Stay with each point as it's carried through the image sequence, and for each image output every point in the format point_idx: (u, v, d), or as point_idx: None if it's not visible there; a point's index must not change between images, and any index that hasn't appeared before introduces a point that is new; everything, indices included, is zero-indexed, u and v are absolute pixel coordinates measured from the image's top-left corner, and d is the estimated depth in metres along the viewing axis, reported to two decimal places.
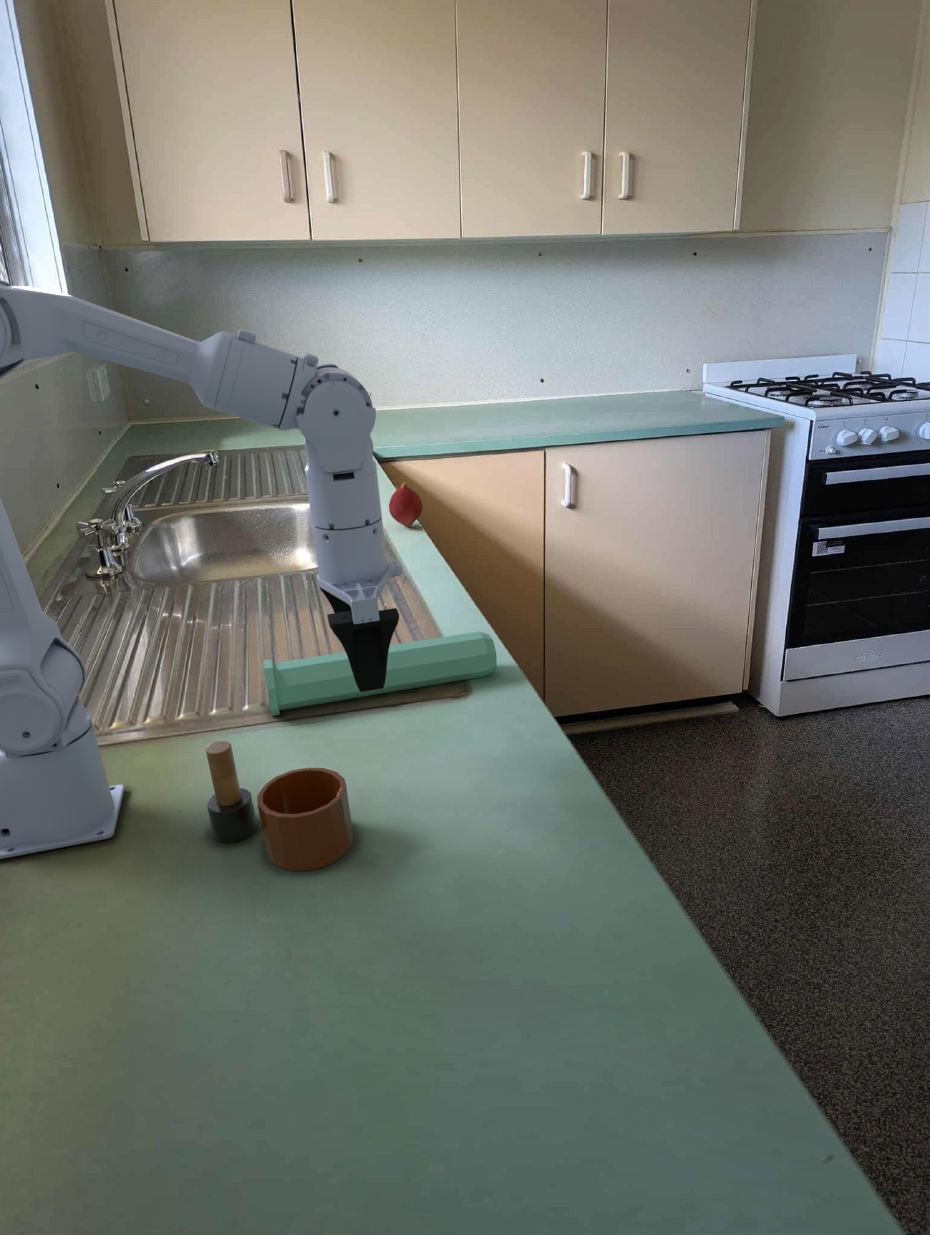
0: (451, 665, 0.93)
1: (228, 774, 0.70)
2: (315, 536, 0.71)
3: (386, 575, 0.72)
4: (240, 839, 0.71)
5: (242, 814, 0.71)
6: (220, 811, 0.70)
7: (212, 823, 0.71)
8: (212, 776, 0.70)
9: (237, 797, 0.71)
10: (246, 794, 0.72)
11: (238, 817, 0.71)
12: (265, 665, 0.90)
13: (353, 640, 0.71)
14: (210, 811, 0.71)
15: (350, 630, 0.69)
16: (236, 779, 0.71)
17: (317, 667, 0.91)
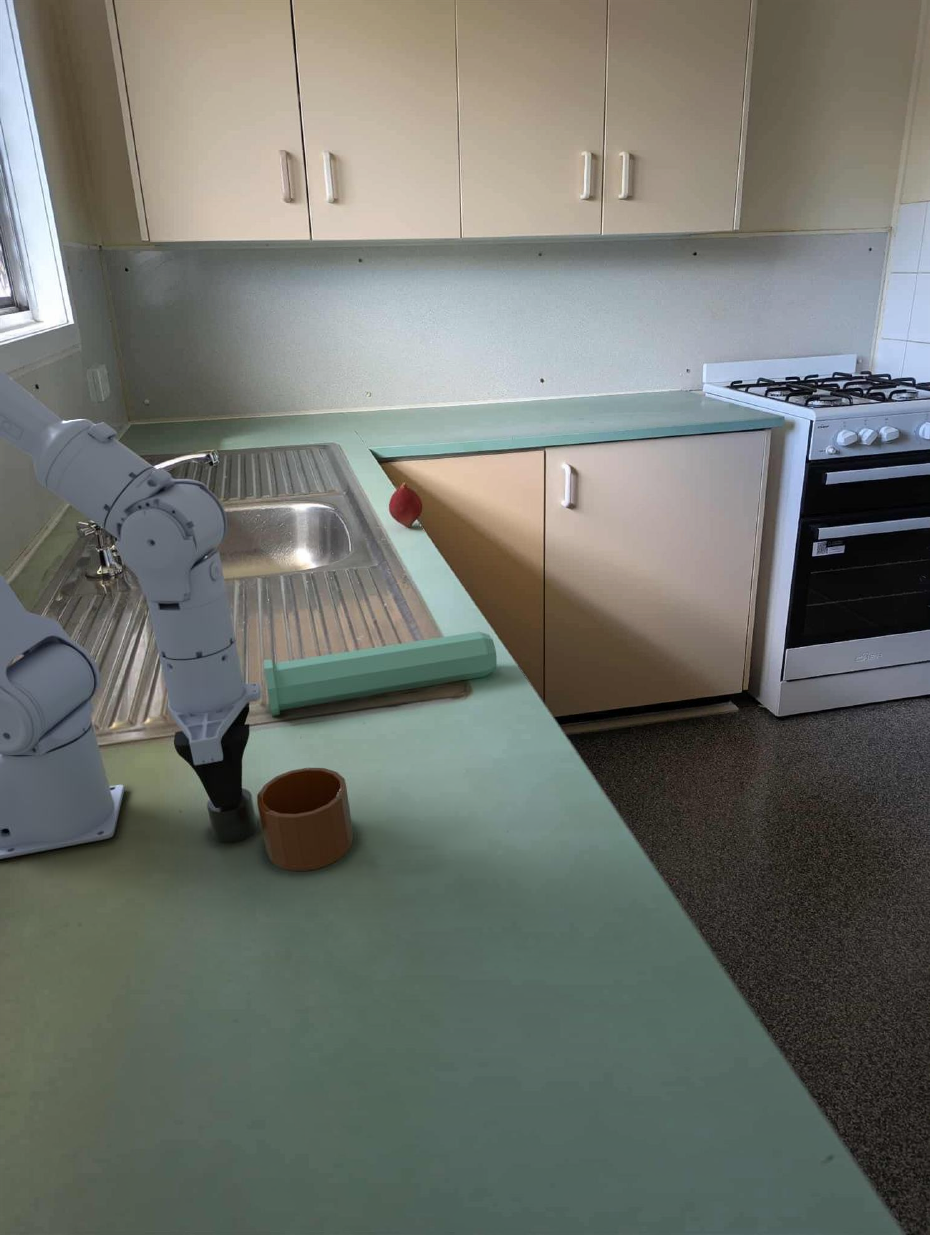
0: (451, 665, 0.93)
1: None
2: (161, 663, 0.66)
3: (240, 703, 0.67)
4: (240, 839, 0.71)
5: (242, 814, 0.71)
6: (220, 811, 0.70)
7: (212, 823, 0.71)
8: None
9: None
10: (246, 794, 0.72)
11: (238, 816, 0.71)
12: (265, 665, 0.90)
13: None
14: (210, 811, 0.71)
15: None
16: None
17: (317, 667, 0.91)
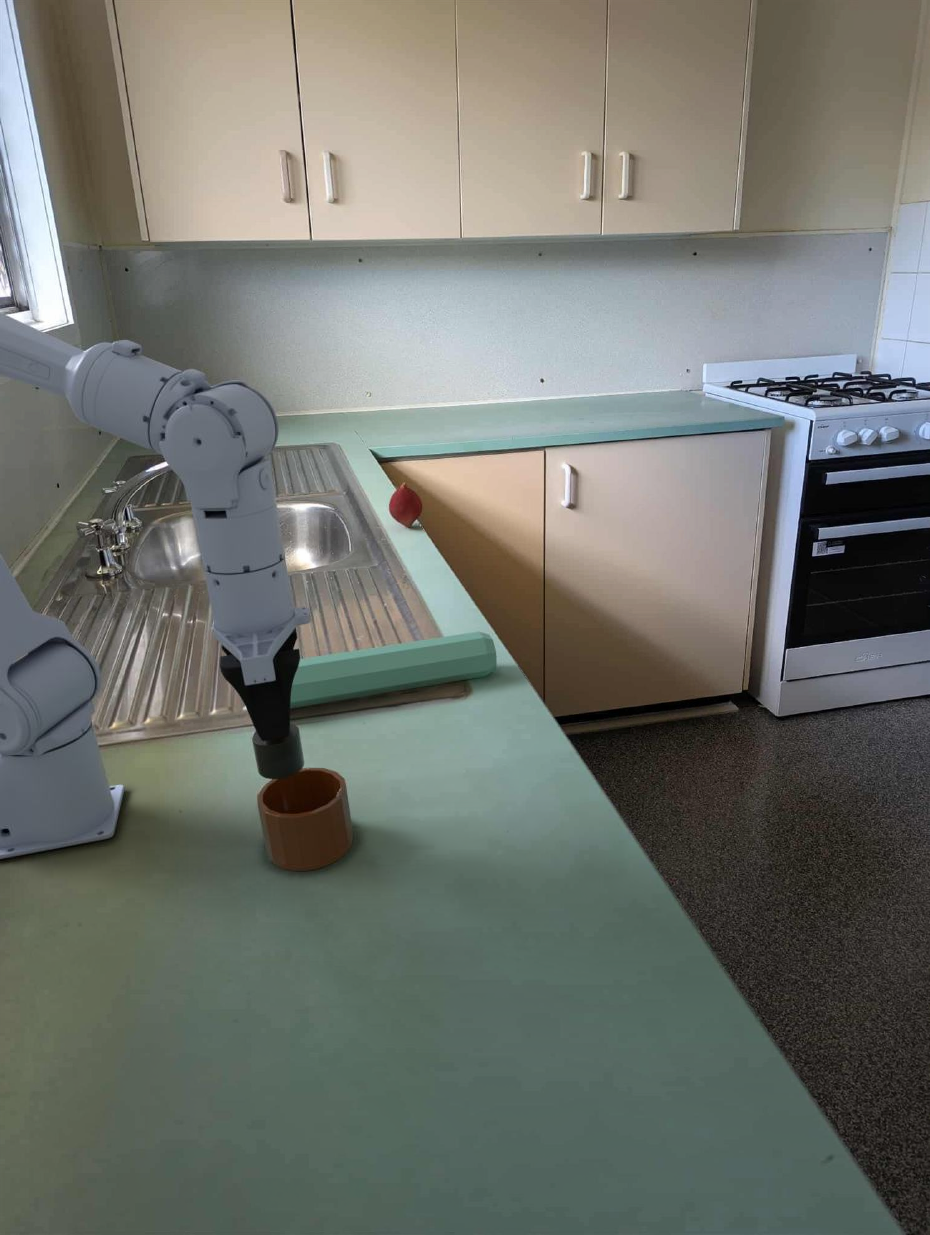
0: (451, 665, 0.93)
1: None
2: (206, 580, 0.61)
3: (290, 624, 0.62)
4: (287, 775, 0.67)
5: (290, 748, 0.66)
6: (266, 744, 0.66)
7: (257, 758, 0.67)
8: None
9: None
10: (293, 728, 0.68)
11: (285, 750, 0.66)
12: None
13: (250, 685, 0.64)
14: (256, 744, 0.66)
15: None
16: None
17: (317, 667, 0.91)
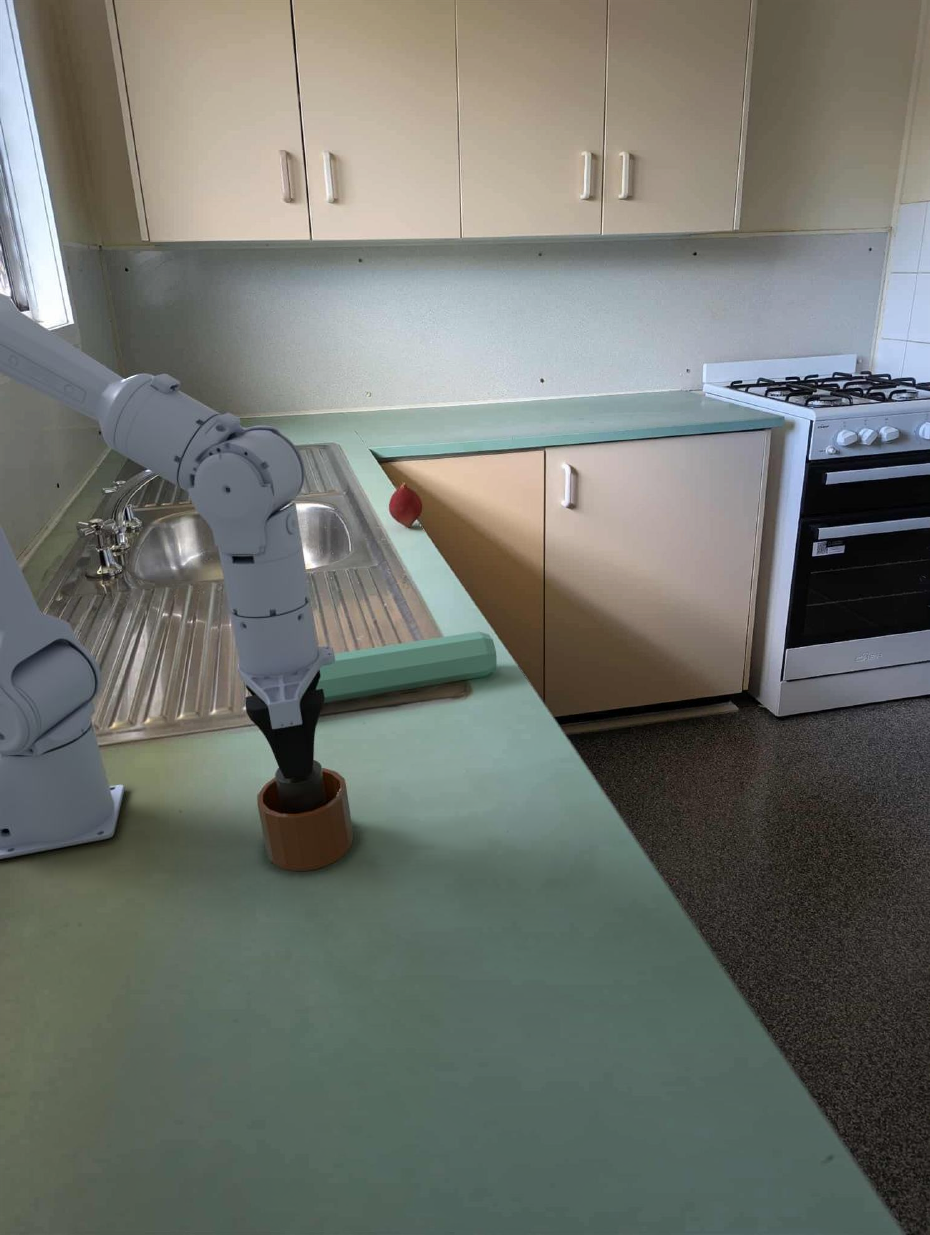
0: (451, 665, 0.93)
1: None
2: (232, 622, 0.62)
3: (315, 665, 0.63)
4: None
5: (313, 786, 0.67)
6: (290, 782, 0.66)
7: (281, 795, 0.67)
8: None
9: None
10: (316, 765, 0.69)
11: (309, 788, 0.67)
12: None
13: None
14: (279, 782, 0.67)
15: (269, 716, 0.62)
16: None
17: None
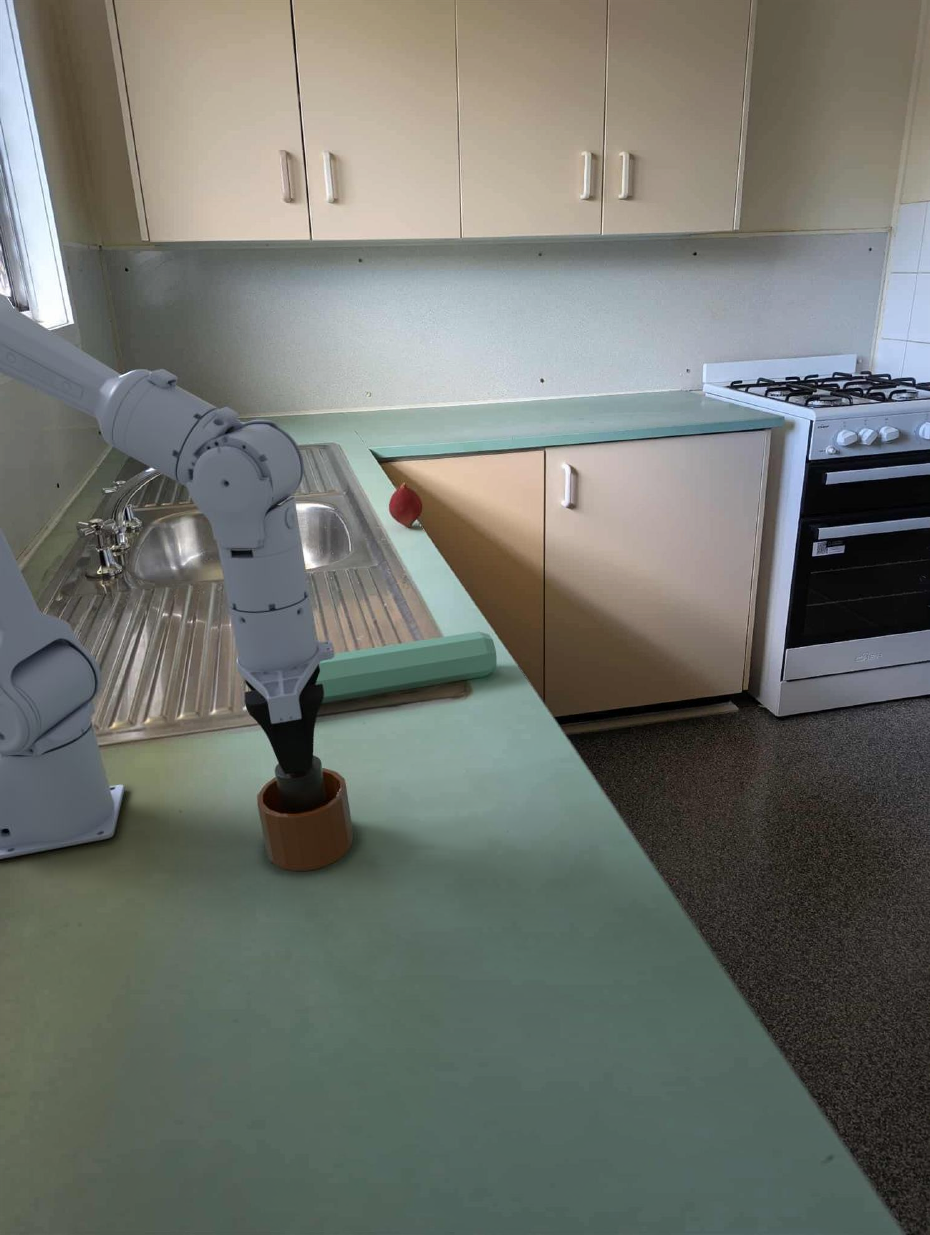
0: (451, 665, 0.93)
1: None
2: (231, 617, 0.62)
3: (314, 660, 0.63)
4: (310, 807, 0.67)
5: (313, 781, 0.67)
6: (289, 778, 0.66)
7: (280, 790, 0.67)
8: None
9: None
10: (315, 760, 0.68)
11: (308, 783, 0.67)
12: None
13: None
14: (279, 777, 0.67)
15: (268, 711, 0.62)
16: None
17: None
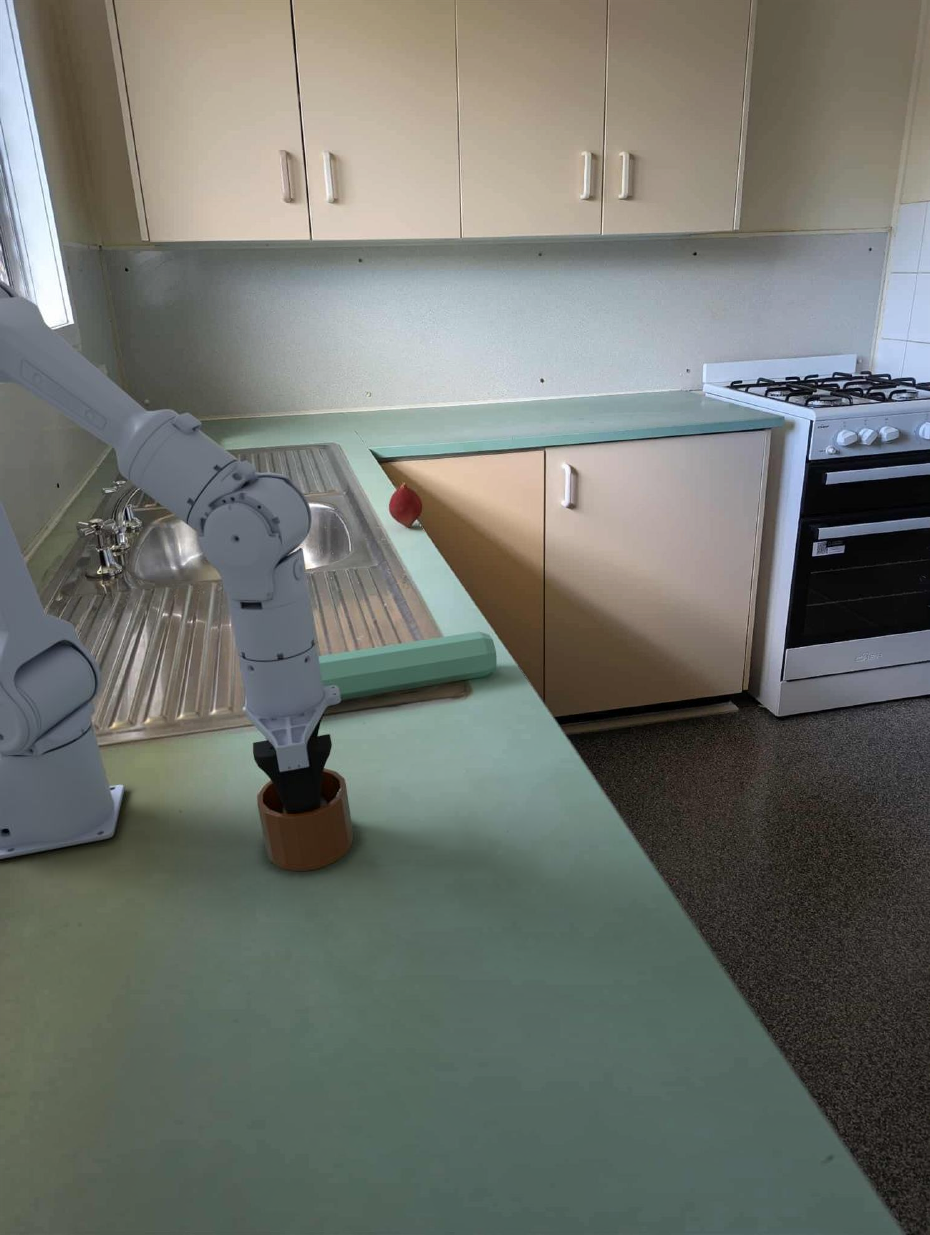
0: (451, 665, 0.93)
1: None
2: (240, 665, 0.63)
3: (321, 706, 0.64)
4: None
5: None
6: None
7: None
8: None
9: None
10: (322, 801, 0.70)
11: None
12: None
13: None
14: None
15: (276, 763, 0.63)
16: None
17: None
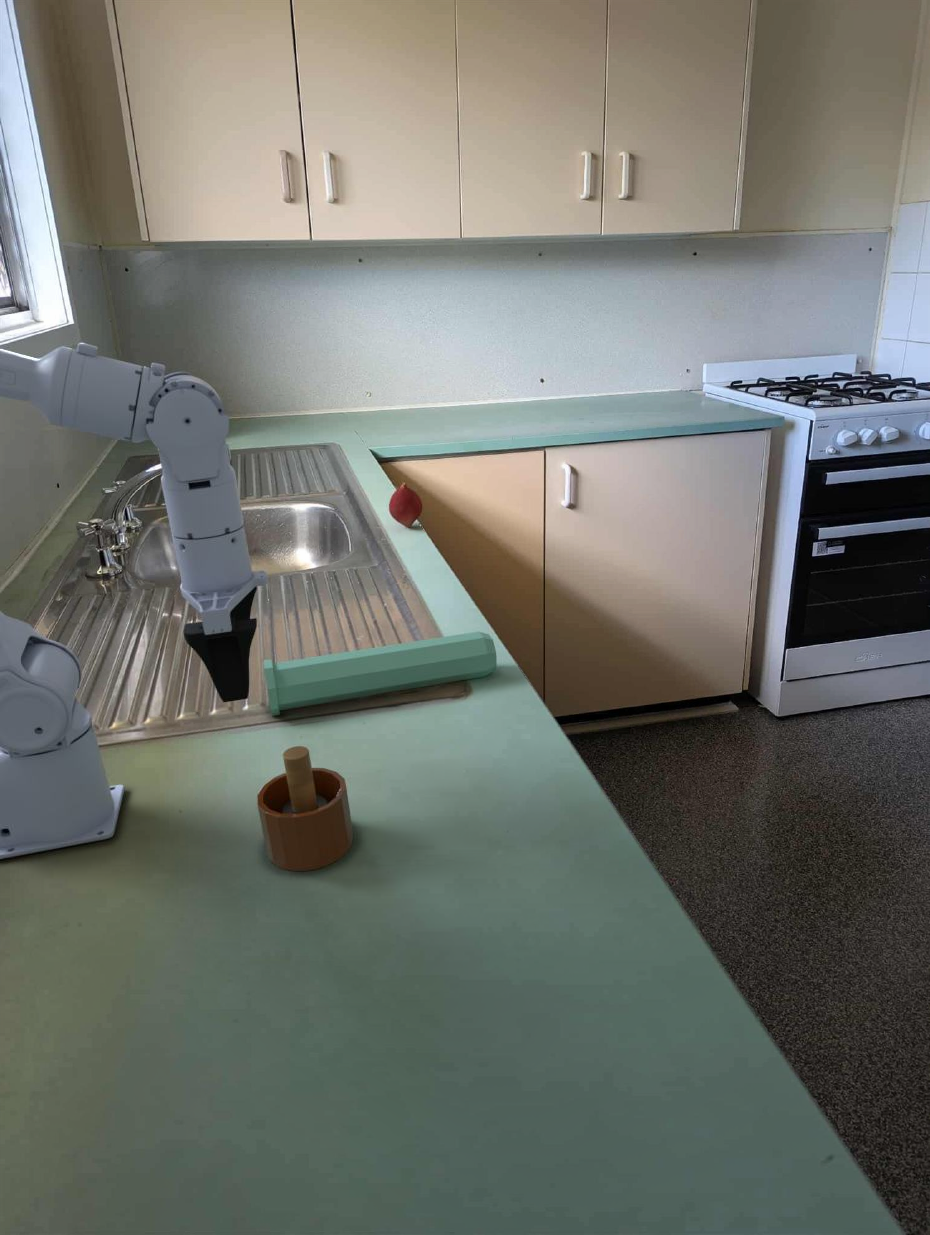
0: (451, 665, 0.93)
1: (306, 781, 0.67)
2: (174, 545, 0.70)
3: (248, 585, 0.71)
4: None
5: None
6: None
7: None
8: (289, 783, 0.68)
9: (314, 804, 0.69)
10: (322, 801, 0.70)
11: None
12: (265, 665, 0.90)
13: (212, 650, 0.70)
14: None
15: (204, 641, 0.68)
16: (313, 786, 0.68)
17: (317, 667, 0.91)
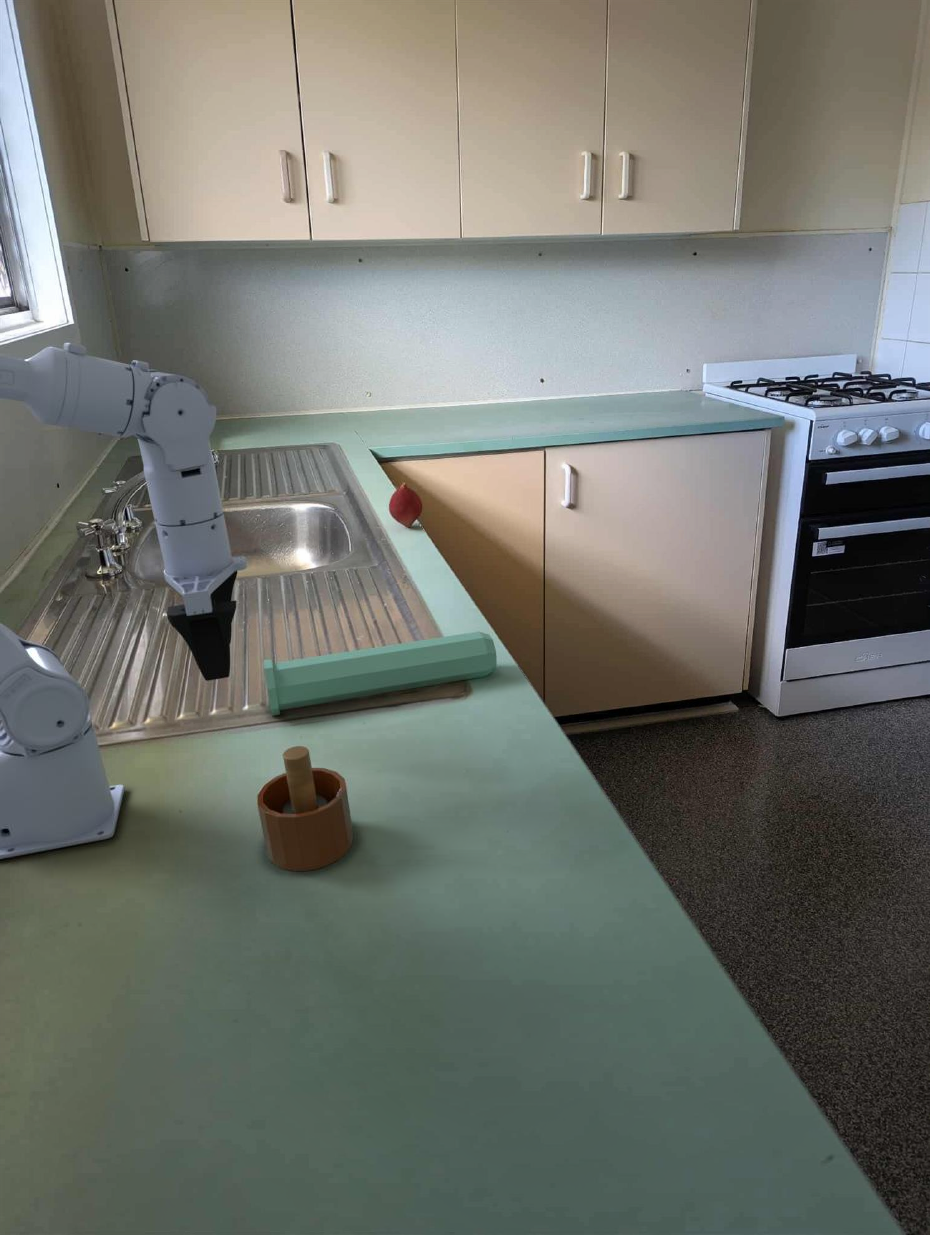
0: (451, 665, 0.93)
1: (306, 781, 0.67)
2: (157, 532, 0.74)
3: (228, 569, 0.75)
4: None
5: None
6: None
7: None
8: (289, 783, 0.68)
9: (314, 804, 0.69)
10: (322, 801, 0.70)
11: None
12: (265, 665, 0.90)
13: (194, 631, 0.74)
14: None
15: (187, 621, 0.72)
16: (313, 786, 0.68)
17: (317, 667, 0.91)
